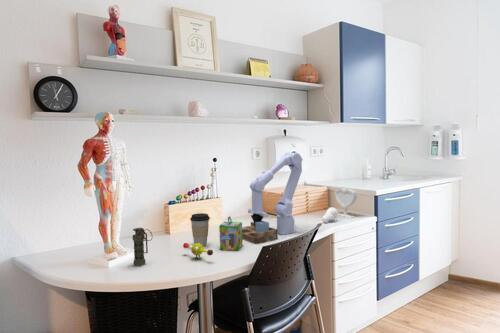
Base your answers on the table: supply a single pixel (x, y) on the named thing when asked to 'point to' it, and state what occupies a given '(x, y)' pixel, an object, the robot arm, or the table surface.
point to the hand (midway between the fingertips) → (257, 228)
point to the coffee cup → (200, 228)
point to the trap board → (258, 234)
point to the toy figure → (197, 249)
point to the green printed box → (230, 235)
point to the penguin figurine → (330, 215)
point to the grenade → (139, 246)
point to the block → (262, 226)
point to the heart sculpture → (345, 199)
